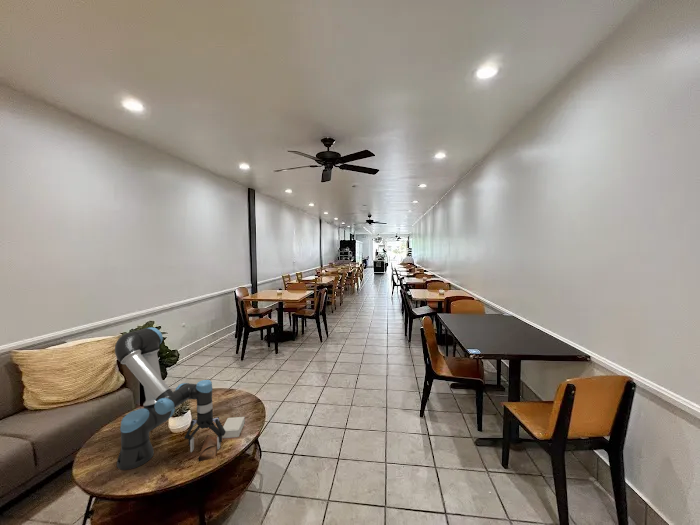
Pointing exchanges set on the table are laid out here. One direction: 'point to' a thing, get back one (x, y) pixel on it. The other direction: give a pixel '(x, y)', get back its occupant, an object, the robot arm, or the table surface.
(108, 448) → the table surface
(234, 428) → the block
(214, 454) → the sunglasses case
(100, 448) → the table surface
